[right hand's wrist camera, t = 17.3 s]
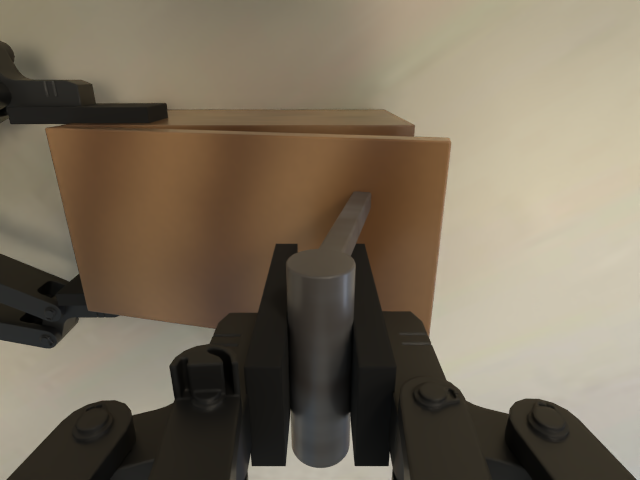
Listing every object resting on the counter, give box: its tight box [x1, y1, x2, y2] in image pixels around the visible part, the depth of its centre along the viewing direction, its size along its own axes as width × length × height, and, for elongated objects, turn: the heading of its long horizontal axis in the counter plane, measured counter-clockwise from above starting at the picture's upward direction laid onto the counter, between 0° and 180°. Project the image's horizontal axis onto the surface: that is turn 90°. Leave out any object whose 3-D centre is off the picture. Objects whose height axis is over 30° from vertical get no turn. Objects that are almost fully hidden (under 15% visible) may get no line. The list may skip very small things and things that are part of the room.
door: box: [45, 126, 451, 468], centre depth 15 cm, size 17×9×9 cm, turn 90°
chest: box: [61, 110, 415, 137], centre depth 25 cm, size 16×9×9 cm, turn 90°
